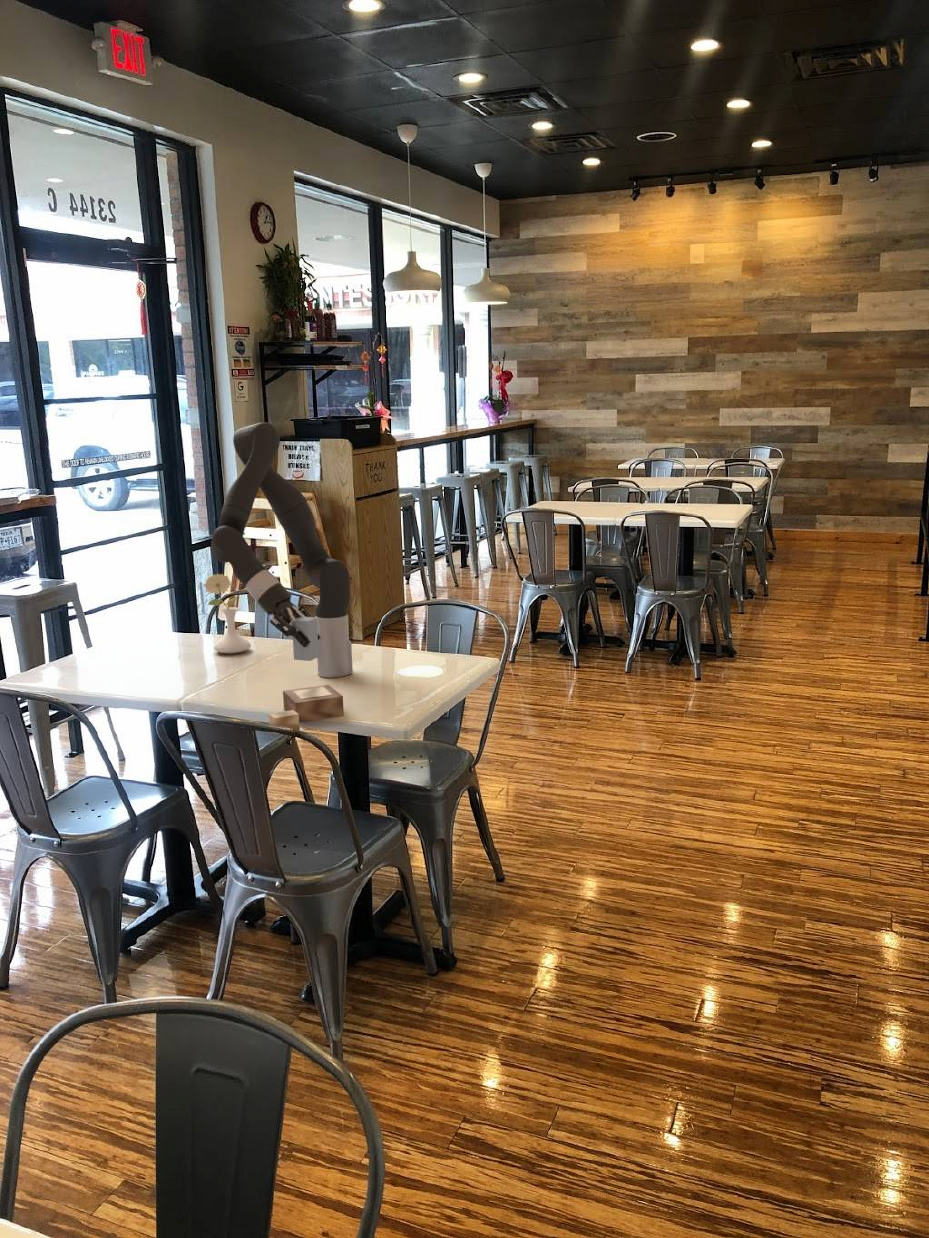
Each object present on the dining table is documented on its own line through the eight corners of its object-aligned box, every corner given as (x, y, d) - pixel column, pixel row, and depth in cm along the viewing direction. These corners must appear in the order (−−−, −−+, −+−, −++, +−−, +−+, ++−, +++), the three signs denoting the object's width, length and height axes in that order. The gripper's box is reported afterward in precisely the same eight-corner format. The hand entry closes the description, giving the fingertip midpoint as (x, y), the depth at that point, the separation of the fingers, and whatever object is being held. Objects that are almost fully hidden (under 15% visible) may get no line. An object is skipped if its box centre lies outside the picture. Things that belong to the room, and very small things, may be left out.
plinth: (329, 703, 271) (328, 683, 270) (343, 715, 260) (342, 695, 259) (284, 709, 266) (282, 690, 265) (296, 722, 256) (295, 702, 255)
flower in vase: (253, 647, 335) (248, 569, 330) (248, 655, 324) (243, 575, 319) (212, 648, 335) (206, 571, 329) (205, 657, 323) (199, 577, 318)
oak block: (293, 725, 254) (293, 710, 253) (299, 730, 250) (298, 714, 249) (270, 729, 251) (269, 713, 250) (275, 734, 247) (274, 718, 247)
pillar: (303, 655, 264) (301, 616, 262) (318, 656, 262) (317, 617, 260) (293, 659, 260) (291, 620, 258) (309, 661, 258) (307, 621, 256)
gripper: (261, 587, 253) (307, 639, 251) (291, 577, 266) (335, 627, 264) (243, 607, 256) (289, 659, 254) (275, 596, 269) (318, 646, 267)
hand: (312, 642), depth 259 cm, fingers closed on pillar, 4 cm apart
